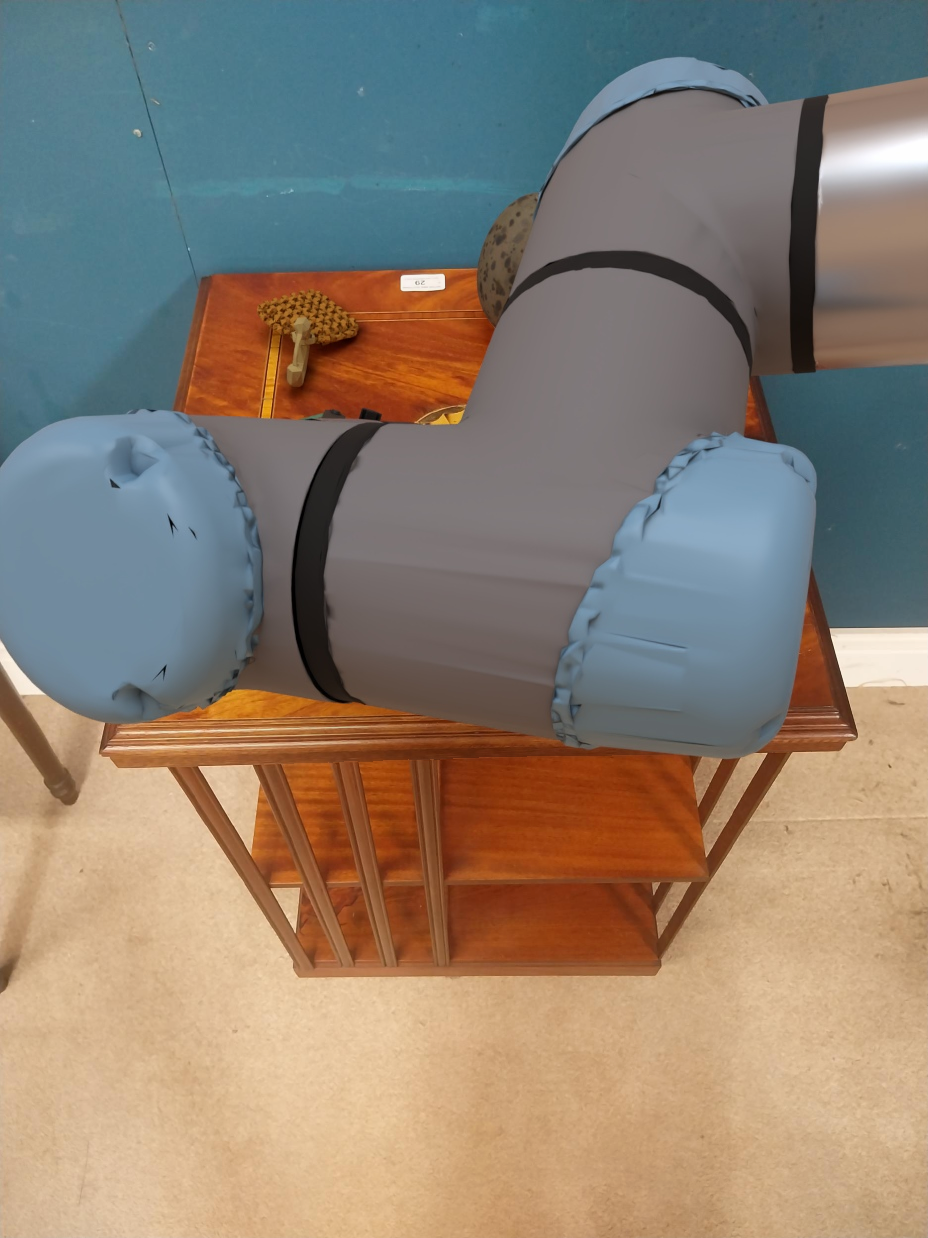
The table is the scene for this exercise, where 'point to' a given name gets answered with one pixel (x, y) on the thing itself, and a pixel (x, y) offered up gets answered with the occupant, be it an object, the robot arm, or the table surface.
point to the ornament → (306, 325)
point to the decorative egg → (504, 255)
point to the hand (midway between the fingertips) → (520, 487)
